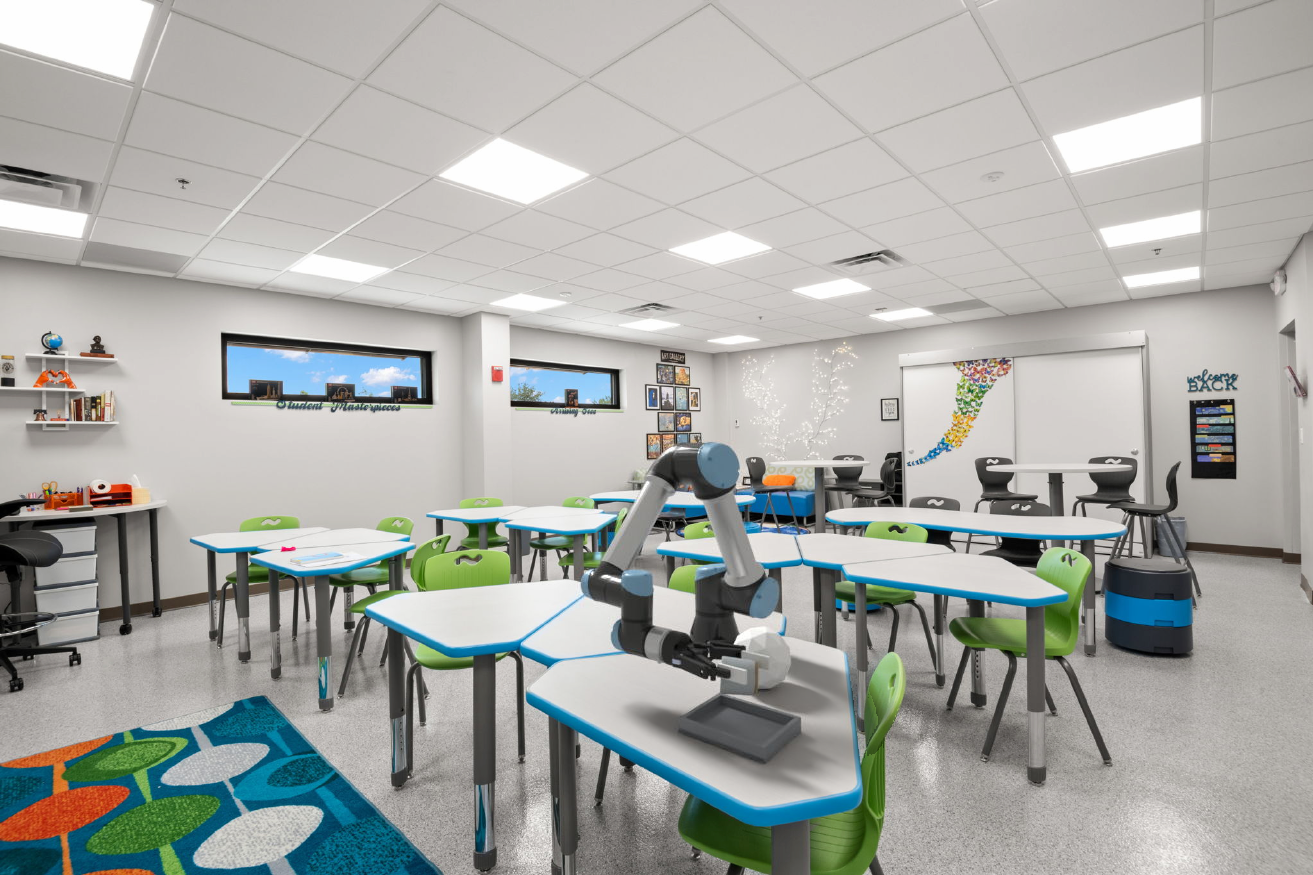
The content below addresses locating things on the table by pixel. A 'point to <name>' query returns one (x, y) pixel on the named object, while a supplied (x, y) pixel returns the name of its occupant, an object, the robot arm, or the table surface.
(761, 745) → the tray
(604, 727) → the table surface
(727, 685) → the grey rounded cylinder
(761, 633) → the geometric shape
